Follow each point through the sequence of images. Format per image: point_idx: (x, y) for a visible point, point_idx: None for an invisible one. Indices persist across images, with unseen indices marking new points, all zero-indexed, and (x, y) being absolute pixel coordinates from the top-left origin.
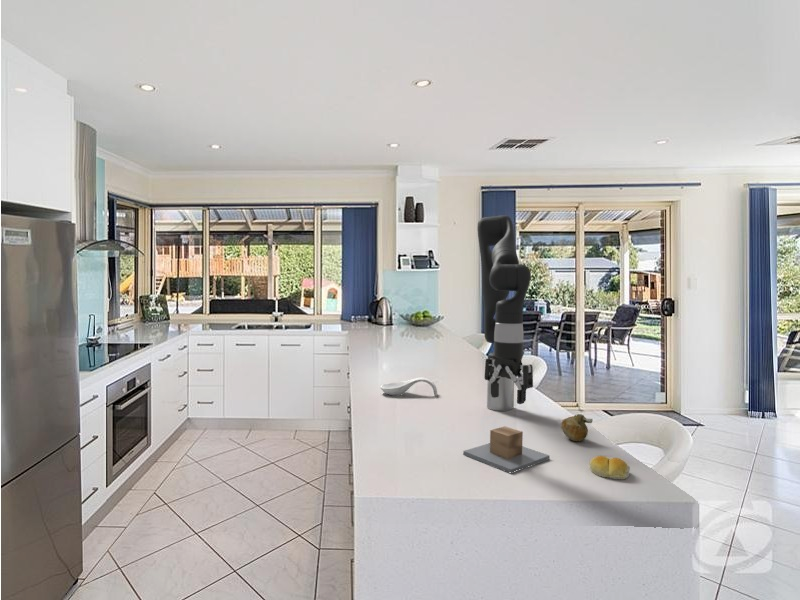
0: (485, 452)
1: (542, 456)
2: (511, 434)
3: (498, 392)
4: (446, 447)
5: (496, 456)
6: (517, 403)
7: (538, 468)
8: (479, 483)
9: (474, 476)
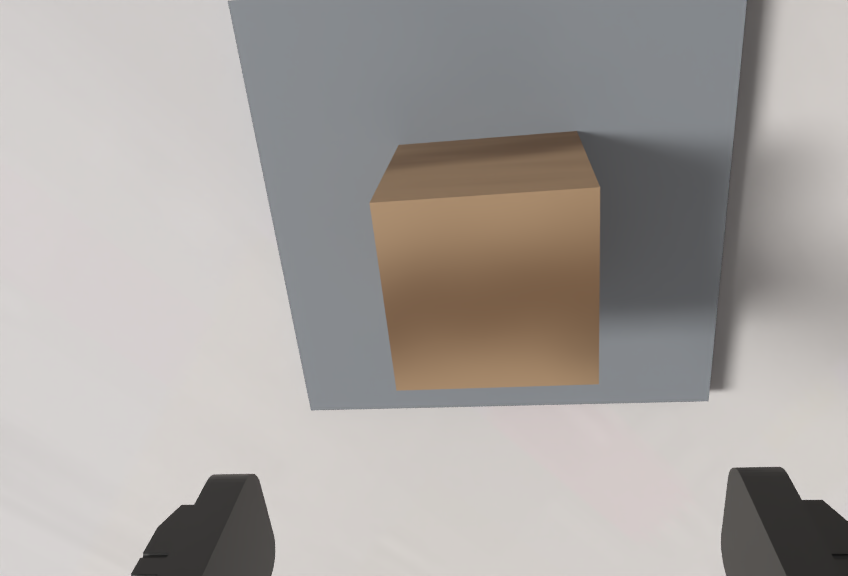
0: None
1: (722, 30)
2: (588, 335)
3: (231, 518)
4: (165, 393)
5: None
6: (723, 552)
7: (780, 185)
8: (668, 572)
9: (593, 539)
